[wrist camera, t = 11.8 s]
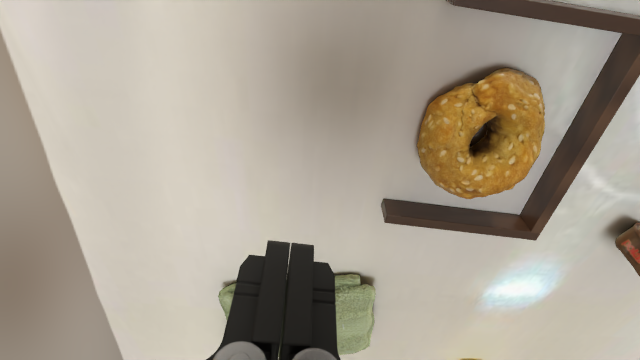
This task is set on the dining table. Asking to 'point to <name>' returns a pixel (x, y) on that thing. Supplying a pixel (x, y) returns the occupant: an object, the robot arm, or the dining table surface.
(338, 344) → the washcloth
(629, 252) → the tin
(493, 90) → the bagel
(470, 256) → the dining table surface
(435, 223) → the bay
